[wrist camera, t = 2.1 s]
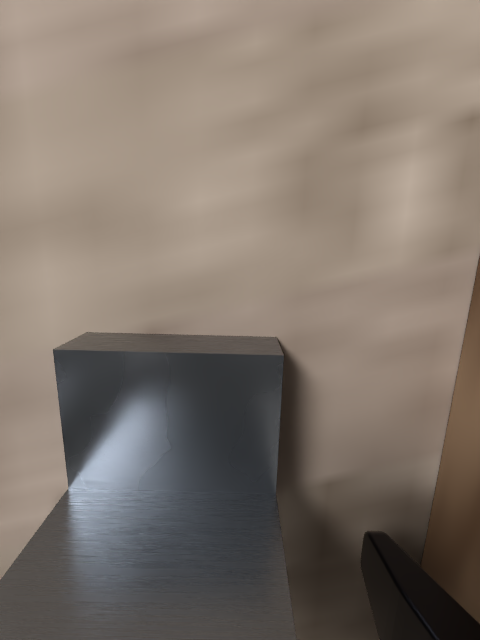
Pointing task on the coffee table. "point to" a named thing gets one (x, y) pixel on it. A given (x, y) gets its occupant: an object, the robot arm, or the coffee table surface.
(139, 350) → the angle bracket
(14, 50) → the coffee table surface
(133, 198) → the coffee table surface
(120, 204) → the coffee table surface
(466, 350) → the l-shaped wooden corner frame
